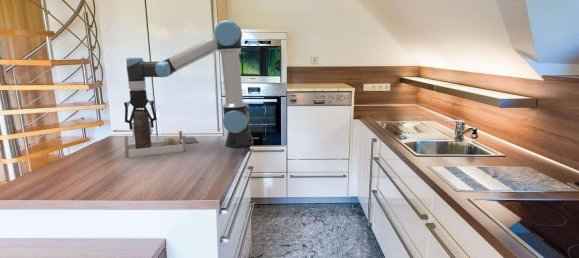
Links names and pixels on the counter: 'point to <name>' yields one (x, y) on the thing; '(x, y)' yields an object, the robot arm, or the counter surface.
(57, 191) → the counter surface
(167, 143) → the offcut upper
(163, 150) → the rack
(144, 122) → the rusty brown cylinder
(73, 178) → the counter surface
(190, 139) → the mat
